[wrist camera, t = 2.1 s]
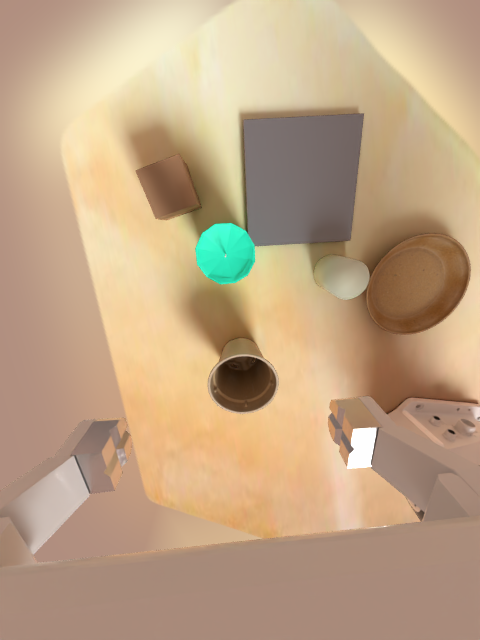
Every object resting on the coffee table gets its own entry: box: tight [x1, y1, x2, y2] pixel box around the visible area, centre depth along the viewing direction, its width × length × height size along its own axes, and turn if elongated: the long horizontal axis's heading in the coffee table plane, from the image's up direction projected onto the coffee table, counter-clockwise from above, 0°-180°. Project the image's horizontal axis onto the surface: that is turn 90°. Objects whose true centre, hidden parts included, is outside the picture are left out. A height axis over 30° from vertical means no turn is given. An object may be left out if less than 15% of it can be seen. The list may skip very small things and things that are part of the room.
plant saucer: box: [366, 233, 471, 335], centre depth 35 cm, size 15×15×3 cm
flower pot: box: [208, 338, 279, 414], centre depth 35 cm, size 9×9×9 cm
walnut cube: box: [136, 154, 202, 220], centre depth 28 cm, size 5×5×5 cm
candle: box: [195, 223, 255, 284], centre depth 28 cm, size 6×6×12 cm
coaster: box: [243, 114, 364, 246], centre depth 30 cm, size 14×14×1 cm
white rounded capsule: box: [314, 255, 370, 300], centre depth 32 cm, size 5×5×6 cm
